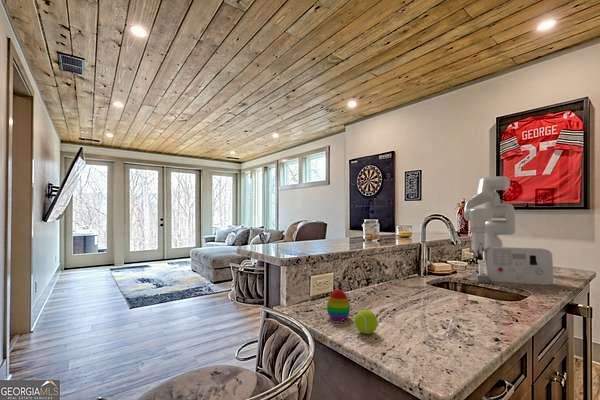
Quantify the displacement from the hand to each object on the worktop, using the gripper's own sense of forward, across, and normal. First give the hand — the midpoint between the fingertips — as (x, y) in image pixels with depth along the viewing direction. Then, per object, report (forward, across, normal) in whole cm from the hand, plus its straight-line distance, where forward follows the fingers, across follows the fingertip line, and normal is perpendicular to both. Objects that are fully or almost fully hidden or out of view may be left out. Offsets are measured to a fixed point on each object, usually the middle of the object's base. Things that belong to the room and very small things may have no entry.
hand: (479, 263), depth 158 cm
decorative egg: (+9, +81, -61) cm, 102 cm away
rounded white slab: (+9, 0, +18) cm, 20 cm away
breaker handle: (+6, +3, 0) cm, 7 cm away
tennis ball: (+9, +91, -50) cm, 104 cm away
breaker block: (+9, 0, 0) cm, 9 cm away
